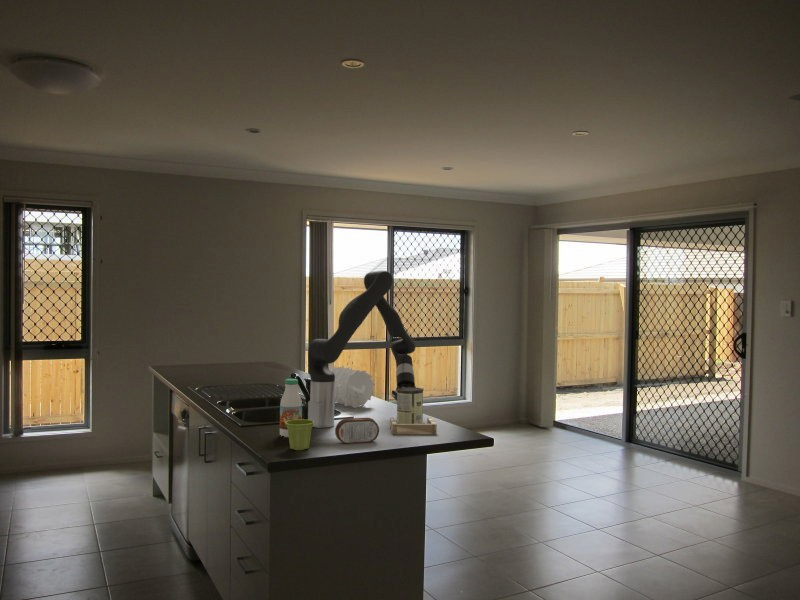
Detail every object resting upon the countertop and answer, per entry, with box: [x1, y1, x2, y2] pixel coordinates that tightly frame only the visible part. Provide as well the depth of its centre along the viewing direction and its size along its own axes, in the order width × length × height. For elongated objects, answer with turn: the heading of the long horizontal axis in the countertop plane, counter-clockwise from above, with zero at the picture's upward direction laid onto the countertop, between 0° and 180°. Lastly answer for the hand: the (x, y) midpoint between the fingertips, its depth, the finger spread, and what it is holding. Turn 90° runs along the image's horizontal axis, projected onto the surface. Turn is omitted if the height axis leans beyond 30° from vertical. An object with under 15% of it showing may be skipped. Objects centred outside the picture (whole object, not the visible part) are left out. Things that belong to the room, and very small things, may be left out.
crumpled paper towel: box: [329, 365, 375, 409], centre depth 298 cm, size 18×18×25 cm
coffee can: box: [396, 386, 424, 424], centre depth 254 cm, size 10×10×14 cm
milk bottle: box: [279, 378, 303, 438], centre depth 231 cm, size 8×8×20 cm
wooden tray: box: [389, 417, 437, 435], centre depth 243 cm, size 14×16×4 cm
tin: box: [334, 417, 380, 445], centre depth 221 cm, size 15×3×8 cm, turn 109°
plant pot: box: [285, 418, 314, 451], centre depth 211 cm, size 9×9×9 cm
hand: (407, 411), depth 259 cm, fingers closed
